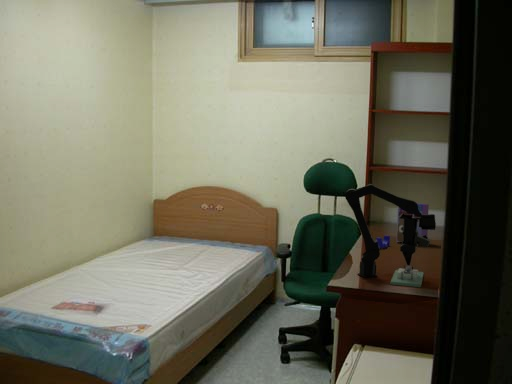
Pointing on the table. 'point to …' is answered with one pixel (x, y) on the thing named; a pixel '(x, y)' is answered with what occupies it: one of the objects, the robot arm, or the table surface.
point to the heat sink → (412, 275)
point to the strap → (407, 270)
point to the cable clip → (385, 241)
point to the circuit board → (407, 280)
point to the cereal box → (421, 207)
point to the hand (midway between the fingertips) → (408, 265)
